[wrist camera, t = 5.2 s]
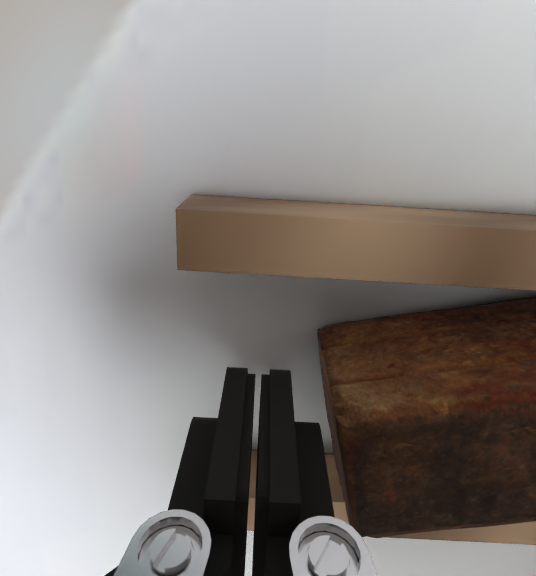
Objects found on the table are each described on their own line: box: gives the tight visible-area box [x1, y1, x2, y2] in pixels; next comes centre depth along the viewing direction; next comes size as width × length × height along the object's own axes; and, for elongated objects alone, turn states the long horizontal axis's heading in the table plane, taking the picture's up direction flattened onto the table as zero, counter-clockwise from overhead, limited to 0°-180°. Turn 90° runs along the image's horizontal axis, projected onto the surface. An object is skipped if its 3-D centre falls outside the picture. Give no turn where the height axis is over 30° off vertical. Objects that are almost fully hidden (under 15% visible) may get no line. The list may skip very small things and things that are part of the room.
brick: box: [317, 298, 536, 538], centre depth 11 cm, size 11×4×5 cm, turn 99°
